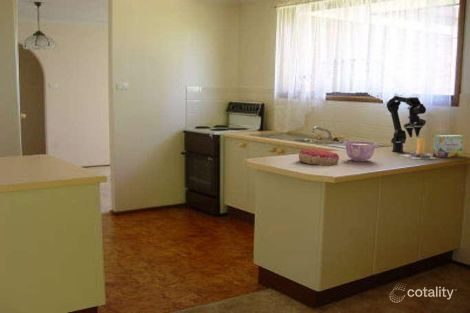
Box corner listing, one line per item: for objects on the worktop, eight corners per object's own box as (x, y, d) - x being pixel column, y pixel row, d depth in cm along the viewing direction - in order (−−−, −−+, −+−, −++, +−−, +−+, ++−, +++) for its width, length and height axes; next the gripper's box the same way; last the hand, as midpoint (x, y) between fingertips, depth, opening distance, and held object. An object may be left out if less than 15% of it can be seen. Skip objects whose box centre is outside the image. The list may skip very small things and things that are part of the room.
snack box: (438, 157, 358) (440, 136, 356) (432, 156, 364) (434, 135, 361) (461, 156, 366) (463, 135, 364) (455, 155, 371) (457, 134, 369)
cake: (291, 158, 335) (292, 146, 334) (324, 158, 344) (326, 146, 343) (309, 167, 312) (310, 154, 311) (345, 167, 321) (346, 154, 320)
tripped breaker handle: (416, 153, 357) (417, 138, 355) (421, 153, 358) (422, 138, 356) (418, 154, 354) (419, 139, 352) (424, 154, 355) (425, 139, 353)
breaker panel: (400, 155, 364) (401, 150, 364) (422, 155, 368) (422, 150, 368) (414, 159, 347) (415, 154, 347) (437, 159, 351) (437, 154, 350)
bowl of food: (352, 163, 327) (353, 145, 325) (338, 158, 346) (339, 141, 344) (381, 162, 332) (382, 144, 330) (365, 157, 351) (366, 140, 349)
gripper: (431, 113, 357) (431, 136, 357) (417, 116, 375) (418, 137, 375) (415, 113, 355) (416, 136, 355) (403, 116, 374) (403, 137, 374)
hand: (414, 137), depth 365 cm, fingers open, 9 cm apart
